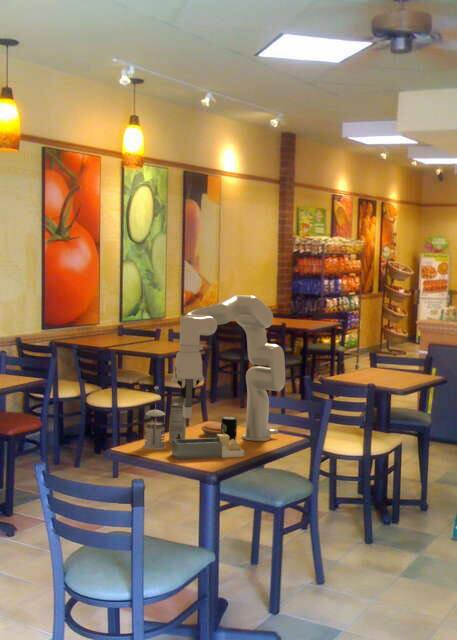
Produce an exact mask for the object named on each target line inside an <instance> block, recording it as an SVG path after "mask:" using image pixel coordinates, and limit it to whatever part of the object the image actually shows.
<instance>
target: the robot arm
mask: <svg viewBox="0 0 457 640" xmlns="http://www.w3.org/2000/svg"><path fill="white" fill-rule="evenodd" d="M233 320H234V321H235V322H236V323H237V324H238V325H239V326H240V327H242V329H243V330H244V331H245V332H244V333H245V335H246V343H247V345H246V346H247V348H246V349H247V358H248V361H249V363H251V364H253V365H258V366H252V367H250V368H248V370H246V374H245V382H246V383H245V384H246V388H247V389H246V390H247V395H246V398H247V399H246V421H245V422H246V423H245V425H246V426H245V433H243V434H241V435H242V436H241V438H242V439H244V440H246V441H251V442H266V441H270V440H271V439H272V436H271V435H278V434H279V430H278V429H272V428H269V413H270V412H269V411H270V410H269V409H270V408H269V407H270V405H269V404H270V398H269V395H268V391H275V392H279V391H282V390H283V389H284V387H285V384H286V364H285V363H286V361H285V353H284V349H283V347H281V345H278V344H276V343H268V340H267V331H266V329H267V328H268V329H269V328H270V327H271V326H272V325H273V322H274V314H273V312H272V310H271V308H270V307H269V306H267V304H265V303H264V302H263V301H262V300H261V298H258V297H257V296H254V295H242V294H235V295H232V296H230V297H228V298H225V299H224V300H223V301H220V302H219V303H217V304H216V303H215V304H212V305H208V306H205V307H199V308H196V309H194V310H191V311H189V312H188V313H186V314H184V316H182V317H181V318H180V322H179V350H178V351H179V352H177V353H176V356H175V361H174V362H175V363H174V369H173V376H172V377H171V381H172V382H174V383H175V384H176V383H177V384H178V386H180V396H181V398H183V399H184V398H186V388H185V380H186V379H193V384H192V399H194V397H195V395H196V394H195V393H196V388H197V386H198V385H199V384H200V383H203V382H204V381H205V376H204V374H203V359H202V353H201V352H200V351H202V350H204V347H203V346H202V345H201V344H200V342H201V341H200V338H201V336H212V335H213V334H214V333H216V332H217V329H218V325H219V326H221V325H225V324H227V323H229V322H231V321H233ZM265 366H266V367H265Z"/></svg>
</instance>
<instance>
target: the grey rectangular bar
mask: <svg viewBox="0 0 457 640" xmlns="http://www.w3.org/2000/svg"><path fill="white" fill-rule="evenodd" d="M192 384H193V379H186V380H185V388H186V398H183V403H184V405H183V415H182V416H183V417H184V418H186V419H192V415H193V407H192V404H193V403H192V401H193V398H192Z"/></svg>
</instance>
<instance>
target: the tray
mask: <svg viewBox="0 0 457 640" xmlns="http://www.w3.org/2000/svg"><path fill="white" fill-rule="evenodd" d="M221 458H222V459H231V458H245V450H244V449H242V448H241V449H240V450H239V451H228V449H227V447H226V446H222V457H221Z"/></svg>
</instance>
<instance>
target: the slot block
mask: <svg viewBox="0 0 457 640" xmlns="http://www.w3.org/2000/svg"><path fill="white" fill-rule="evenodd" d="M216 439H217V438H209V437H207V438H206V437H204V438H203V437H202V438H201V437H199V438H185V439H172V445H171V456H173V457H174V458H175V459H176V460H196V459H216V458H217V459H218V458H222V442H216Z"/></svg>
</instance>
